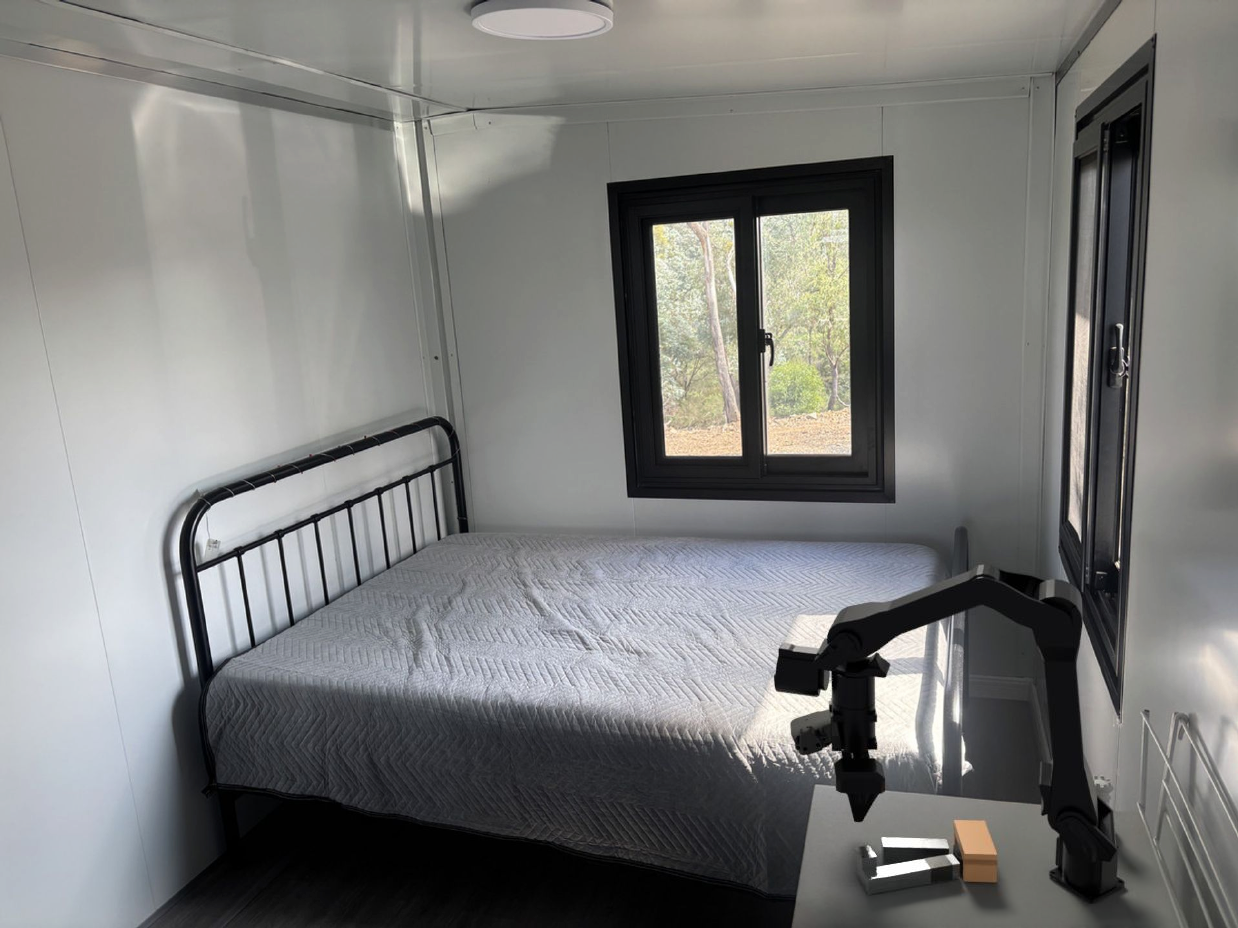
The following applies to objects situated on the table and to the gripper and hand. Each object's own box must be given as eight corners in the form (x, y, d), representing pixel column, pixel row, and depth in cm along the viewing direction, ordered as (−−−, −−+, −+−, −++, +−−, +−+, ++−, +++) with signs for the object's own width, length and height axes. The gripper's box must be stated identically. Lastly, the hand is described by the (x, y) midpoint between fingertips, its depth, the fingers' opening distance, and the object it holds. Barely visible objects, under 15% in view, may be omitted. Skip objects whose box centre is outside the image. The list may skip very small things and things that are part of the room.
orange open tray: (984, 846, 130) (984, 820, 129) (996, 882, 123) (997, 854, 122) (953, 846, 131) (953, 819, 130) (964, 881, 124) (964, 853, 123)
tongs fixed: (980, 855, 129) (981, 839, 128) (988, 875, 125) (988, 859, 124) (881, 852, 131) (881, 837, 130) (885, 872, 127) (885, 856, 126)
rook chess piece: (1108, 821, 134) (1111, 770, 132) (1121, 841, 130) (1124, 788, 128) (1074, 821, 134) (1077, 770, 132) (1086, 841, 130) (1089, 789, 128)
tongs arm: (943, 857, 129) (943, 832, 128) (959, 878, 124) (960, 852, 124) (855, 872, 127) (854, 847, 126) (868, 894, 123) (868, 868, 122)
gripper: (791, 668, 140) (794, 764, 144) (795, 734, 122) (798, 841, 126) (869, 668, 138) (870, 765, 142) (885, 735, 120) (886, 843, 124)
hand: (854, 801), depth 133 cm, fingers open, 9 cm apart
